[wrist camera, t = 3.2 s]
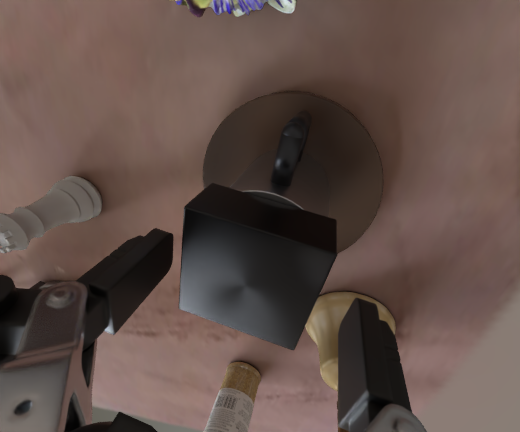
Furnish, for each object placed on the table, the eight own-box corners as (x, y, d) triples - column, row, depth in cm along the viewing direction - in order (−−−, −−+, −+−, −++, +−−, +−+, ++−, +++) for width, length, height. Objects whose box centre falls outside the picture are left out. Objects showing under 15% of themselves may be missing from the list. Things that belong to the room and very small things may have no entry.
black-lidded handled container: (314, 238, 20) (298, 357, 12) (238, 214, 21) (172, 311, 12) (358, 119, 16) (387, 173, 7) (260, 95, 16) (178, 117, 8)
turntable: (202, 229, 24) (196, 235, 23) (218, 70, 17) (211, 70, 16) (341, 273, 22) (342, 283, 21) (417, 118, 16) (423, 121, 15)
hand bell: (314, 352, 28) (295, 613, 14) (293, 294, 25) (243, 557, 11) (400, 353, 25) (477, 684, 11) (388, 286, 22) (475, 633, 8)
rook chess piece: (57, 185, 26) (-41, 224, 19) (81, 166, 24) (-19, 201, 17) (88, 221, 27) (6, 270, 21) (113, 205, 25) (32, 253, 19)
